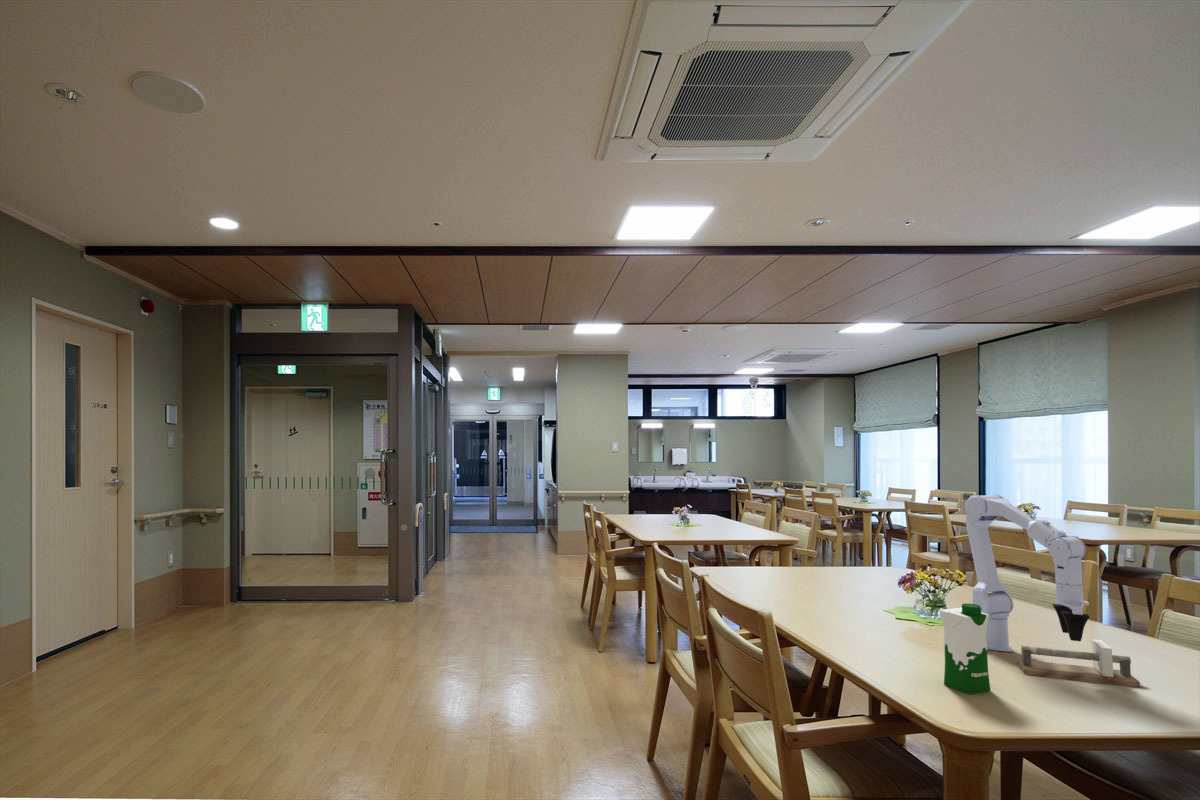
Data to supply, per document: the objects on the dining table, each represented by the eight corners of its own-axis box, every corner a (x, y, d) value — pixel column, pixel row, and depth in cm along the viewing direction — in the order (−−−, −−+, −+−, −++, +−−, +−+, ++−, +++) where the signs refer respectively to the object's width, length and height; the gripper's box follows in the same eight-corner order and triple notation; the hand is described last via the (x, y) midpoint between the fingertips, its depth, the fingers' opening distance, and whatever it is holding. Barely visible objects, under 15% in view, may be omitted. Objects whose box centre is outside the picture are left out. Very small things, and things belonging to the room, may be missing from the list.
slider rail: (1024, 674, 167) (1023, 650, 167) (1016, 663, 175) (1015, 640, 175) (1140, 687, 157) (1138, 662, 158) (1126, 675, 166) (1125, 651, 166)
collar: (1103, 676, 161) (1101, 647, 161) (1093, 666, 168) (1091, 639, 169) (1113, 677, 160) (1111, 648, 160) (1102, 667, 167) (1101, 640, 168)
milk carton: (970, 696, 151) (966, 609, 153) (937, 683, 160) (934, 600, 161) (996, 691, 155) (993, 606, 156) (963, 679, 163) (960, 598, 164)
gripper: (1096, 590, 161) (1099, 646, 160) (1079, 579, 175) (1082, 631, 174) (1062, 587, 164) (1064, 642, 163) (1048, 577, 177) (1050, 628, 176)
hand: (1071, 636), depth 168 cm, fingers open, 7 cm apart
